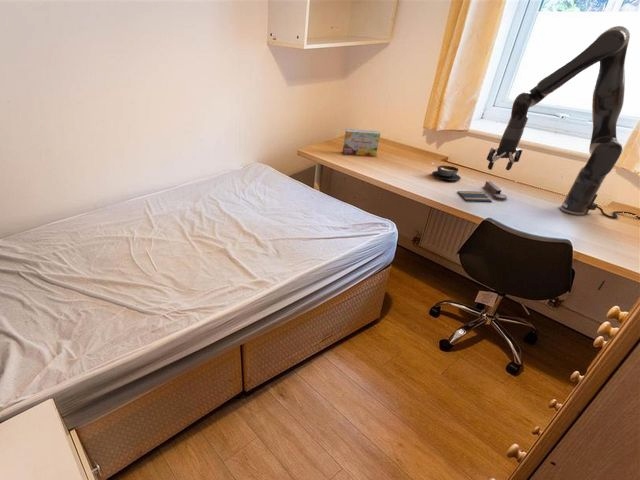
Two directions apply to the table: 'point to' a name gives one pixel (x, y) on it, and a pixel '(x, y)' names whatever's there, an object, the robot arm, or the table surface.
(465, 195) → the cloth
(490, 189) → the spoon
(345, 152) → the snack box
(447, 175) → the black cup and saucer
